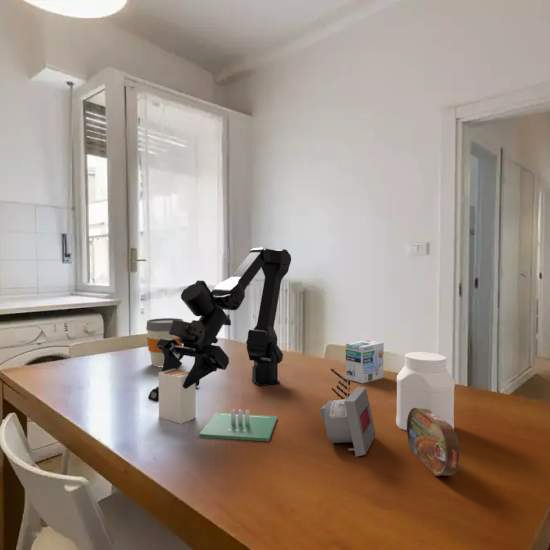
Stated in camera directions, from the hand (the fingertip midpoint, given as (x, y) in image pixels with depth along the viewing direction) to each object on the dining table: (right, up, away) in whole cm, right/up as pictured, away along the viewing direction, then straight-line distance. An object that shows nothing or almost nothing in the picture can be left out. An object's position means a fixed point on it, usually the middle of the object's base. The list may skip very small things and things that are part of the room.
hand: (172, 384), depth 91 cm
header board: (+15, -8, -4) cm, 18 cm away
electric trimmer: (-4, -8, +19) cm, 21 cm away
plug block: (+1, -8, +1) cm, 8 cm away
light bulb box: (+50, -7, +34) cm, 61 cm away
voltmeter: (+37, -8, -5) cm, 38 cm away
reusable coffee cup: (-15, -7, +51) cm, 54 cm away
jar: (+54, -8, -3) cm, 55 cm away
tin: (+49, -9, -20) cm, 54 cm away
